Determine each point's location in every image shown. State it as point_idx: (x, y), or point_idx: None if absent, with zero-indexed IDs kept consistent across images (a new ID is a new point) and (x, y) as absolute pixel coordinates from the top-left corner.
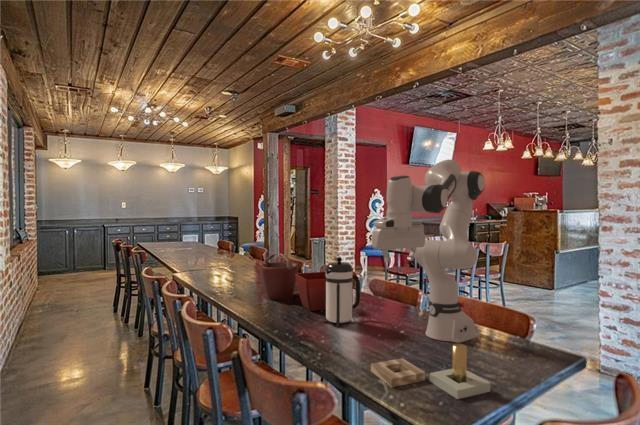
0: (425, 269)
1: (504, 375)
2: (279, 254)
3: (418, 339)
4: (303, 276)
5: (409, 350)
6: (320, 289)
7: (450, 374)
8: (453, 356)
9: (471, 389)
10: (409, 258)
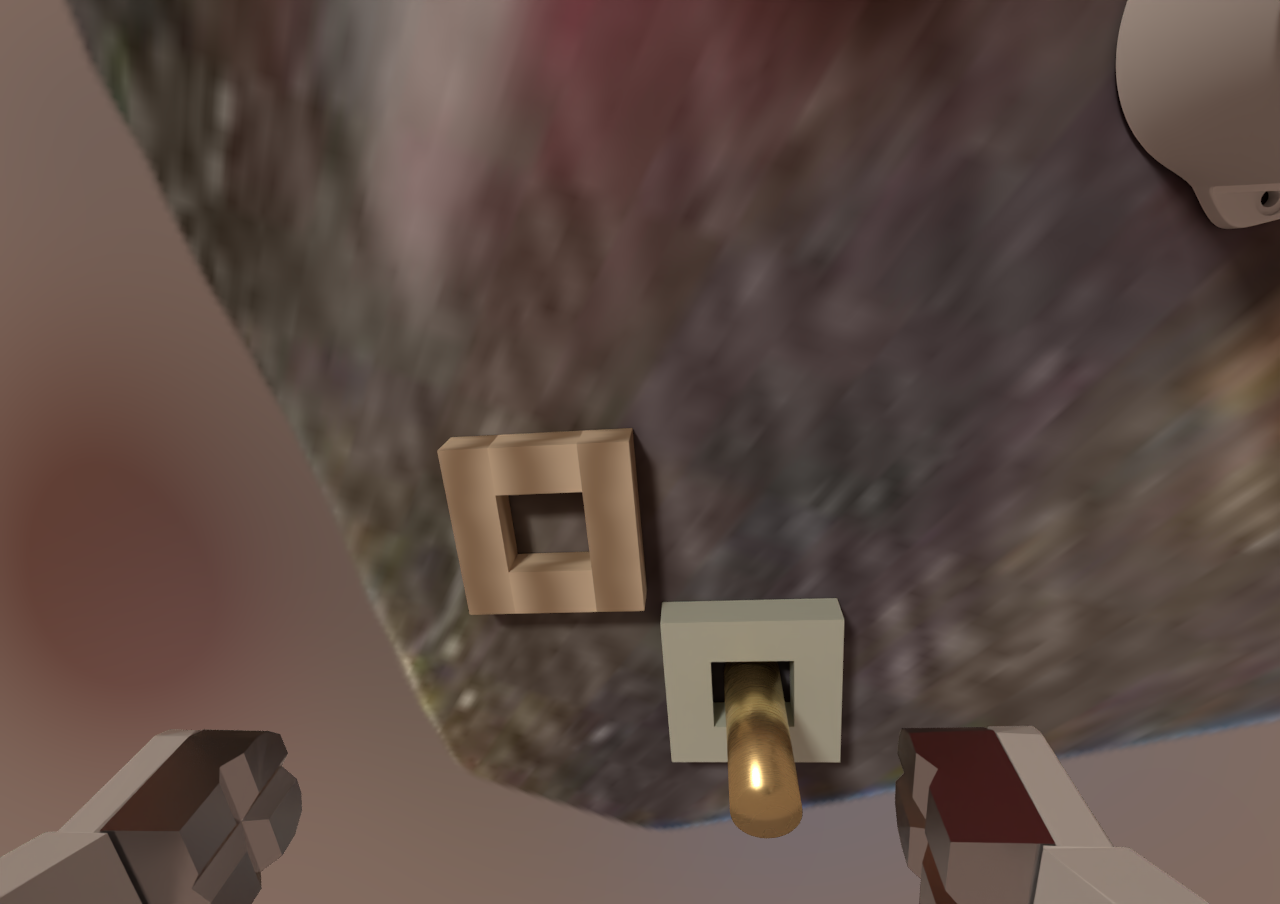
0: None
1: (1019, 662)
2: None
3: (1006, 49)
4: None
5: (798, 241)
6: None
7: (739, 661)
8: (728, 765)
9: None
10: (923, 845)
